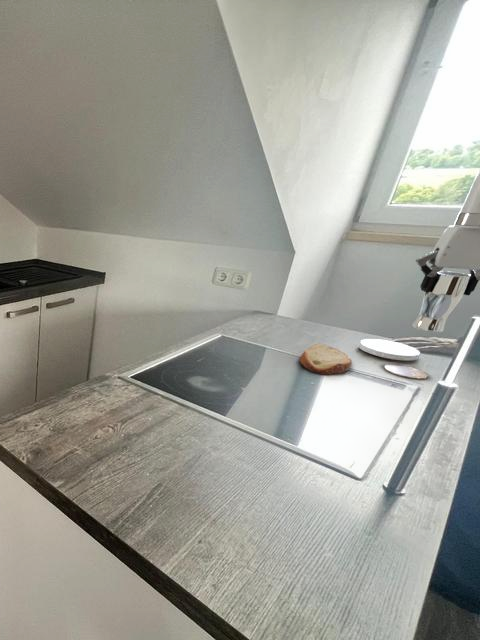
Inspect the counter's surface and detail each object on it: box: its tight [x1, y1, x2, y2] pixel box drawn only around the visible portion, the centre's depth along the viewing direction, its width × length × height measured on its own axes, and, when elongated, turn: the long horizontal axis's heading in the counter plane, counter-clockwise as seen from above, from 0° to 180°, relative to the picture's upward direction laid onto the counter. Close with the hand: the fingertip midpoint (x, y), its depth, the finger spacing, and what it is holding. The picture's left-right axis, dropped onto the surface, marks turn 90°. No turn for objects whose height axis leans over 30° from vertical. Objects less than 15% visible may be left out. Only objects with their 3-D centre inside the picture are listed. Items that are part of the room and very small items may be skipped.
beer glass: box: [411, 270, 472, 333], centre depth 103 cm, size 7×7×15 cm
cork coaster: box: [383, 363, 429, 380], centre depth 112 cm, size 9×9×1 cm
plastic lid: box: [358, 338, 421, 362], centre depth 123 cm, size 14×14×2 cm
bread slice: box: [299, 343, 352, 376], centre depth 118 cm, size 18×18×4 cm
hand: (444, 292), depth 102 cm, fingers closed on beer glass, 7 cm apart
